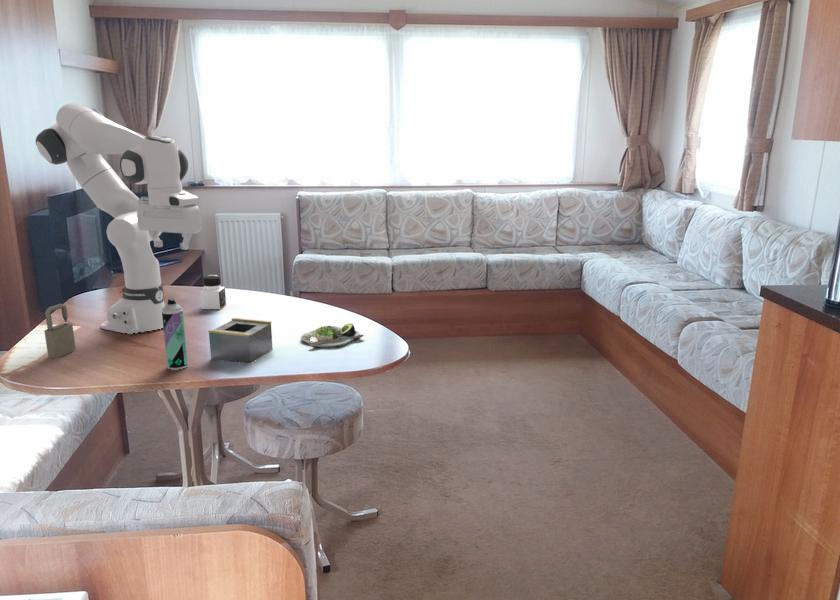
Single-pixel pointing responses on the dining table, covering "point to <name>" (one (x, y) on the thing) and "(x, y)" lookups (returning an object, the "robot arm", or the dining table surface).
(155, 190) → the robot arm
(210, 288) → the medicine bottle
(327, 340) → the salad plate
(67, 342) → the padlock
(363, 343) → the dining table surface
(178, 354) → the spray can
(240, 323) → the socket block
